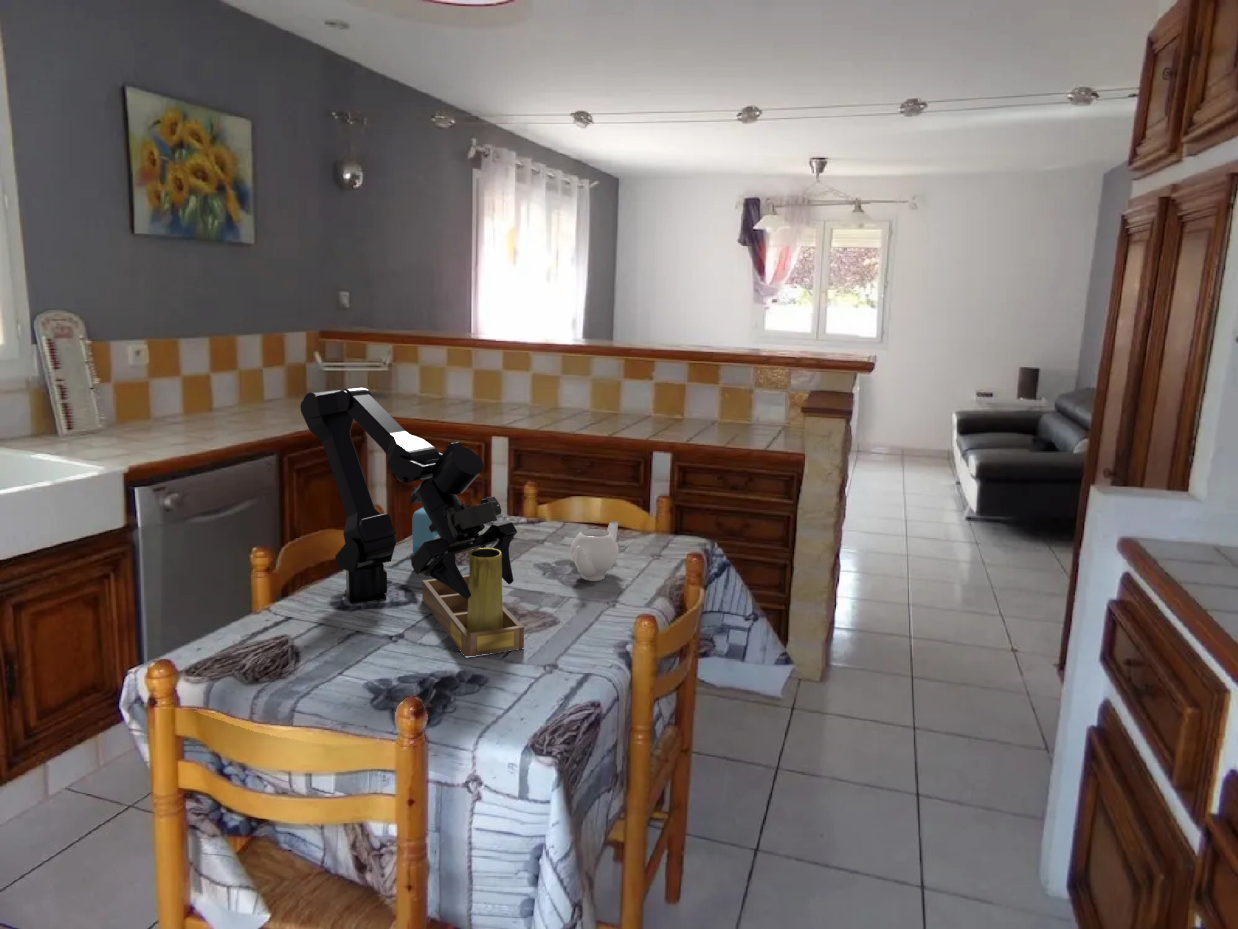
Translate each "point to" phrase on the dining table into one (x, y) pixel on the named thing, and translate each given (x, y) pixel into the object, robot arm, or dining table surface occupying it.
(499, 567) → the vase
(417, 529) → the data package
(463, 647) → the rack
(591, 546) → the teapot
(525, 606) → the dining table surface
